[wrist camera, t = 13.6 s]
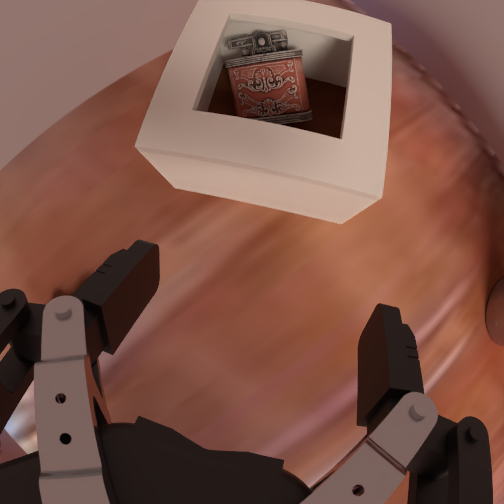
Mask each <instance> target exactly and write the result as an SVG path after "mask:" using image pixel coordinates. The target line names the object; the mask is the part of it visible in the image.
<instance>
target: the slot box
mask: <svg viewBox="0 0 504 504" xmlns="http://www.w3.org/2000/svg"><path fill="white" fill-rule="evenodd" d="M257 31H266V32H268V33H274V32H282V31H286V32H287V38H288V40H287V41H288V46H287V48H288V50H298V49H302V53H303V56H301V57H302V63H303V69H304V75H305V77H306V78H310V79H315V80H319V81H323V82H327V83H331V84H335V85H339V86H342V87H346V88H347V89H346V97H345V105H344V113H343V120H342V127H341V134H340V139H338V138H334V137H330V136H326V135H322V134H318V133H314V132H310V131H306V130H302V129H297V128H293V127H288V126H283V125H279V124H274V123H269V122H264V121H258V120H253V119H247V118H241V117H236V116H229V115H223V114H216V113H209V112H207V111H208V107H209V104H210V101H211V98H212V96H213V93H214V90H215V87H216V84H217V81H218V78H219V75H220V73H221V70H222V67H223V64H225V63H224V61H227V60H232V59H237V58H242V53H241V50H242V48H237V49H232V50H228V45H227V41H228V39H230V38H235V37H240V36H245V35H250V36H254V35H255V33H256V32H257ZM274 43H275V46H276V47H278V50H279V52H280V51H281V48H280V46H279V44H278V42H274ZM248 49H249V52H250V55H251V56H253V54H252V50H253V49H254V46H248ZM391 82H392V32H391V24H390V23H387V22H384V21H381V20H379V19H375V18H372V17H369V16H366V15H362V14H359V13H356V12H352V11H348V10H344V9H341V8H337V7H333V6H328V5H324V4H319V3H315V2H310V1H305V0H199V1H198V2H197V4H196V6H195V8H194V10H193V12H192V13H191V15H190V17H189V19H188V21H187V23H186V25H185V27H184V29H183V31H182V33H181V35H180V37H179V39H178V41H177V43H176V45H175V47H174V49H173V52H172V54H171V56H170V58H169V60H168V62H167V65H166V67H165V69H164V72H163V74H162V76H161V78H160V81H159V83H158V86H157V88H156V90H155V93H154V95H153V98H152V100H151V103H150V105H149V108H148V111H147V113H146V116H145V118H144V121H143V124H142V127H141V129H140V132H139V135H138V138H137V141H136V143H135V147H136V149H137V150H138V151H139V152H140V153H141V154H142V155H143V156H144V157H145V158H146V159H147V160H148V161H149V162H150V163H151V164H152V165H153V166H154V167H155V168H156V169H157V170H158V171H159V172H160V173H161V174H162V175H163V176H164V177H165V178H166V179H167V180H168V182H169V183H170V184H171V185H172V186H173V187H174V188H177V189H182V190H187V191H192V192H197V193H203V194H208V195H213V196H217V197H222V198H227V199H232V200H237V201H242V202H246V203H251V204H256V205H260V206H265V207H269V208H274V209H278V210H283V211H287V212H291V213H296V214H300V215H304V216H309V217H313V218H317V219H321V220H325V221H329V222H333V223H338V224H343V223H344V222H346V221H347V220H349V219H350V218H352V217H354V216H355V215H357V214H358V213H360V212H361V211H363V210H364V209H366V208H367V207H369V206H370V205H372V204H373V203H375V202H376V201H378V200H379V199H381V198H382V194H383V186H384V178H385V169H386V160H387V149H388V137H389V124H390V107H391Z"/></svg>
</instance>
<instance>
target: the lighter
mask: <svg viewBox="0 0 504 504" xmlns="http://www.w3.org/2000/svg"><path fill="white" fill-rule="evenodd" d="M287 40H288V38H287V32H286V31H282V32H274V33H268V32H266V31H257V32H256V33H255V35H254V36H250V35H245V36H240V37H235V38H230V39H228V41H227V45H228V50H232V49H237V48H242V50H241V53H242V58H237V59H232V60H227V61H224V63H225V68H227V69H228V73H229V78H230V83H231V88H232V92H233V97H234V102H235V107H236V111H237V116H238V117H241V118H247V119H253V120H258V121H264V122H269V123H274V124H285V123H293V122H301V121H307V120H310V119H312V118H313V117H312V110H311V109H310V108H309V101H308V94H307V87H306V81H305V75H304V69H303V63H302V57H301V56H303V53H302V49H298V50H288V48H287V46H288V41H287ZM274 42H278V44H279V46H280V48H281V51H280V52H279V50H278V47H276V46H275V43H274ZM248 46H254V49H253V50H252V54H253V56H251V55H250V52H249V49H248Z"/></svg>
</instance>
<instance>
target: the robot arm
mask: <svg viewBox="0 0 504 504" xmlns="http://www.w3.org/2000/svg"><path fill="white" fill-rule="evenodd" d="M159 280H160V268H159V246H158V245H157V244H154V243H150V242H147V241H143V240H137V241H136V242H135V243H134V244H133V245H132V246H131V247H130V248H129V249H128V250H125V249H122V250H120V251H118V252H116V253H114V254H112V255H111V256H110V257H109V258H108V259H107V260H106V261H105V262H104V263H103V265H101V266H100V267H99V268H98V269H97V270H96V272H94V273H93V274H92V275H91V276H90V277H89V278H88V279H87V280H86V281H85V282H84V283H83V284H82V285H81V287H80V288H79V289H78V290H77V291H76V292H75V293H74V294H73V295H72V296H60V297H56V298H54V299H53V300H51V301H50V302H49V303H48V304H47V305H43V304H35V303H28V301H27V298H26V296H25V294H24V292H23V291H21V290H19V289H8V290H5V291H3V292H1V293H0V354H1V352H2V351H3V350H4V348H5V347H6V346H7V344H8V343H9V344H10V346H11V348H10V349H9V351H8V352H7V353H6V355H5V356H4V357H3V359H2V360H1V361H0V434H1V433H2V431H3V429H4V427H5V425H6V424H7V422H8V420H9V419H10V417H11V415H12V413H13V412H14V410H15V408H16V407H17V405H18V403H19V402H20V400H21V399H22V397H23V395H24V394H25V392H26V391H27V389H28V387H29V386H30V384H31V383H32V381H33V380H34V399H35V418H36V431H37V441H38V450H39V451H36V452H33V453H30V454H28V455H25V456H22V457H19V458H16V459H13V460H11V461H7V462H5V463H1V464H0V504H384V503H385V501H386V500H387V499H388V498H389V497H390V495H391V494H392V493H393V492H394V490H395V489H396V488H397V487H398V485H399V484H400V483H401V482H402V480H403V479H404V477H405V476H406V474H407V471H410V476H409V490H408V502H407V504H493V485H492V467H491V455H490V445H489V437H488V432H487V429H486V427H485V425H484V424H483V423H482V422H481V421H480V420H479V419H477V418H475V417H471V416H469V417H465V418H463V419H462V420H461V421H460V422H458V423H455V422H453V421H451V420H449V419H446V418H444V417H442V416H440V415H438V412H437V408H436V406H435V404H434V402H433V401H432V400H431V399H430V398H429V397H428V396H426V395H424V388H423V381H422V375H421V368H420V362H419V360H418V358H419V356H418V351H417V350H416V349H417V345H416V340H415V336H414V334H413V332H412V331H411V329H410V327H409V326H408V325H407V324H402V320H401V315H400V310H399V308H397V307H393V306H389V305H385V304H380V303H379V304H378V305H377V306H376V307H375V309H374V311H373V313H372V315H371V317H370V319H369V321H368V322H367V324H366V326H365V328H364V330H363V332H362V334H361V336H360V339H359V343H358V399H357V426H364V427H367V434H366V435H365V436H364V437H363V438H362V439H361V441H360V442H359V443H358V444H357V445H356V446H355V447H354V448H353V449H352V450H351V451H350V452H349V453H348V454H347V455H346V456H345V457H344V458H343V459H342V460H341V461H340V462H338V463H337V464H336V465H335V466H334V467H333V468H332V469H331V470H330V471H329V472H328V473H327V474H325V475H324V476H323V477H322V478H321V479H319V480H318V481H317V482H316V483H315V484H314V485H312V486H311V487H310V488H309V487H308V486H307V485H306V484H305V483H304V482H303V481H302V480H300V479H299V478H298V477H296V476H295V475H293V474H292V473H290V472H288V471H286V470H284V469H282V468H283V463H284V460H281V459H276V458H272V457H267V456H263V455H258V454H254V453H250V452H237V451H217V450H207V449H204V448H202V447H201V446H199V445H197V444H196V443H194V442H192V441H191V440H189V439H188V438H186V437H184V436H183V435H181V434H180V433H178V432H177V431H175V430H173V429H172V428H169V427H166V426H163V425H161V424H158V423H156V422H153V421H151V420H148V419H146V418H143V417H141V416H138V418H137V420H136V422H135V424H134V423H112V422H111V418H110V415H109V412H108V409H107V405H106V400H105V395H104V389H103V384H102V378H101V371H100V364H99V359H98V357H99V355H100V354H101V352H102V351H104V352H107V353H109V354H111V355H113V354H114V353H115V351H116V350H117V348H118V347H119V345H120V344H121V342H122V341H123V339H124V338H125V336H126V335H127V333H128V332H129V330H130V329H131V328H132V326H133V325H134V323H135V322H136V320H137V319H138V317H139V316H140V314H141V313H142V312H143V310H144V309H145V307H146V306H147V304H148V303H149V302H150V300H151V299H152V297H153V296H154V294H155V293H156V291H157V288H158V285H159ZM486 324H487V329H488V333H489V335H490V337H491V339H492V340H493V341H494V342H495V343H496V344H498V345H501V346H504V278H503V279H502V280H500V281H499V282H498V283H497V284H496V286H495V287H494V289H493V291H492V293H491V295H490V298H489V301H488V305H487V311H486ZM0 448H1V443H0ZM1 457H2V451H1V449H0V459H1ZM406 470H407V471H406Z"/></svg>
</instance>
